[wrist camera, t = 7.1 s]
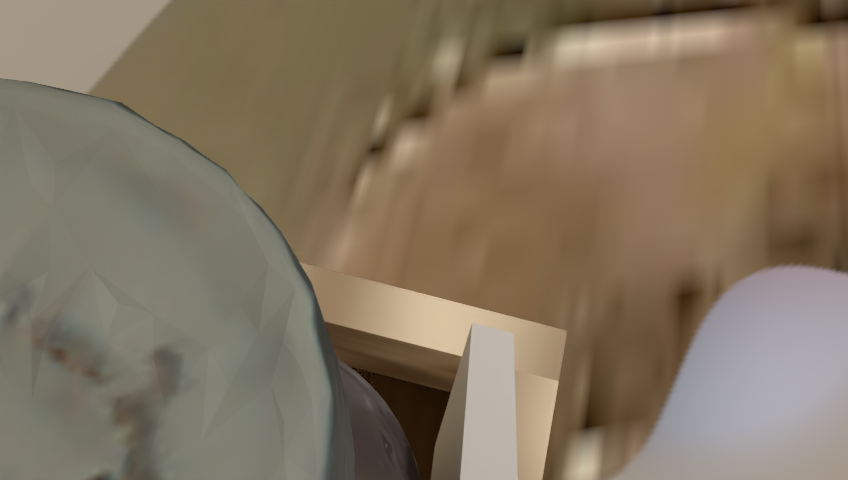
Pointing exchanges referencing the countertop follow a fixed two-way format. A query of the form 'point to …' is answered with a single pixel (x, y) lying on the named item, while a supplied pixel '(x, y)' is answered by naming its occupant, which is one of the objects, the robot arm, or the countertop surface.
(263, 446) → the sauce bottle
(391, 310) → the wooden u-shaped frame
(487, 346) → the robot arm
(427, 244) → the countertop surface
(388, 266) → the countertop surface
